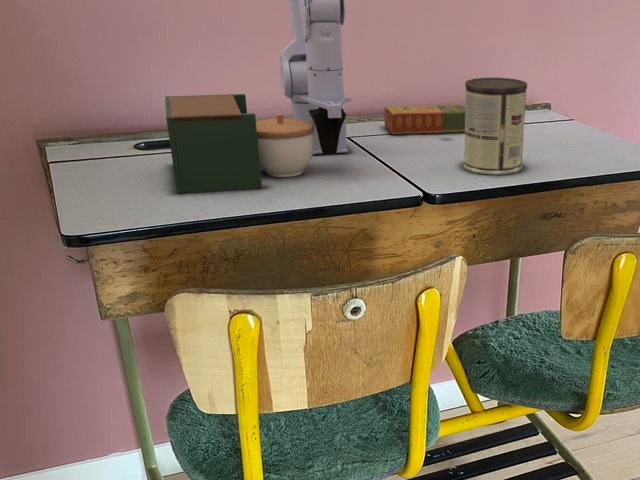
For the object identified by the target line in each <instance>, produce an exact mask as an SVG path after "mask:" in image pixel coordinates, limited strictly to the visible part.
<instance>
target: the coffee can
mask: <svg viewBox="0 0 640 480" xmlns="http://www.w3.org/2000/svg"><path fill="white" fill-rule="evenodd" d="M464 87H465V105H464V106H465V107H464V109H465V132H464V153H463V156H464V157H463V158H464V159H463V168H464V169H465V170H467V171H469V172H472V173H476V174H482V175H509V174H513V173H517V172H520V171H521V170H522V168H523V165H522V163H523V147H524V131H525V129H524V128H525V114H526V97H527V89H528V82H526V81H524V80H520V79H517V78H509V77H476V78H471V79H468V80H466V81H465V82H464Z"/></svg>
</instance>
